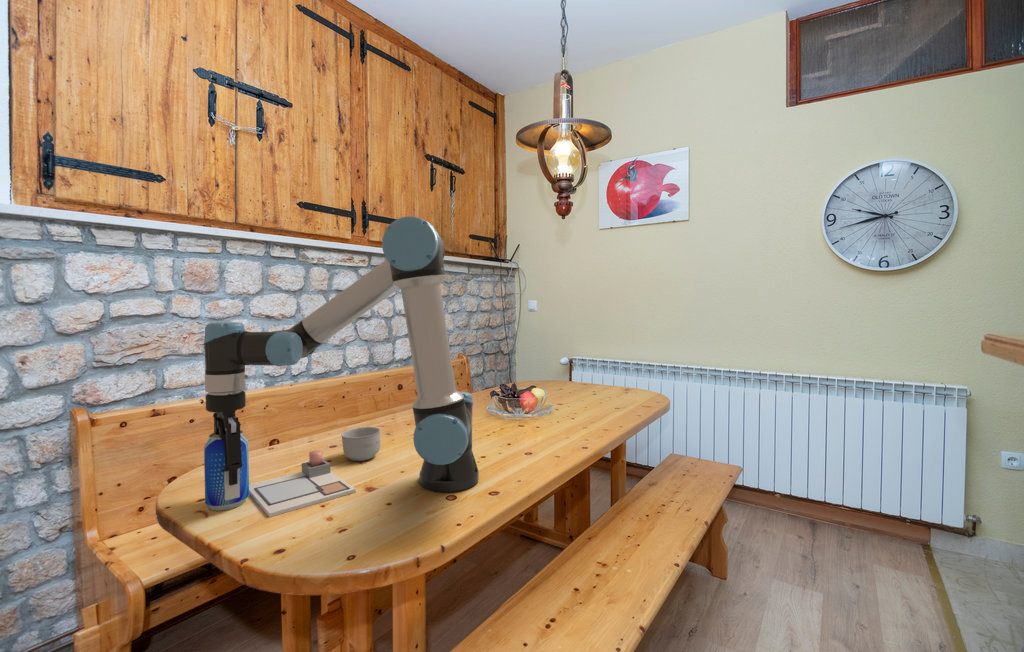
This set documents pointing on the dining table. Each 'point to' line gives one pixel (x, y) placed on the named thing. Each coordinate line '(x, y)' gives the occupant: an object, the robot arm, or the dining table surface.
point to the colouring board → (299, 489)
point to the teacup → (361, 443)
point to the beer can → (215, 476)
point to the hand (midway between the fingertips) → (227, 492)
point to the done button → (315, 458)
